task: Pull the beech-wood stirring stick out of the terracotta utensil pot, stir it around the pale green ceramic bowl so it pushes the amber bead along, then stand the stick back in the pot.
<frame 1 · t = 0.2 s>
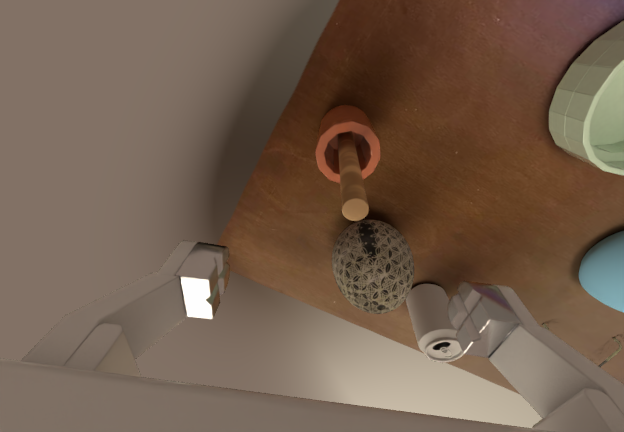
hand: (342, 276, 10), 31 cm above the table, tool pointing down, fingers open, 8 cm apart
decorative egg: (366, 233, 47), on the table
utensil pot: (344, 131, 38), on the table
can: (424, 293, 54), on the table
stirring stick: (344, 133, 37), point 1 cm above the table, touching utensil pot
sugar bowl: (621, 256, 46), on the table
bowl: (621, 90, 33), on the table
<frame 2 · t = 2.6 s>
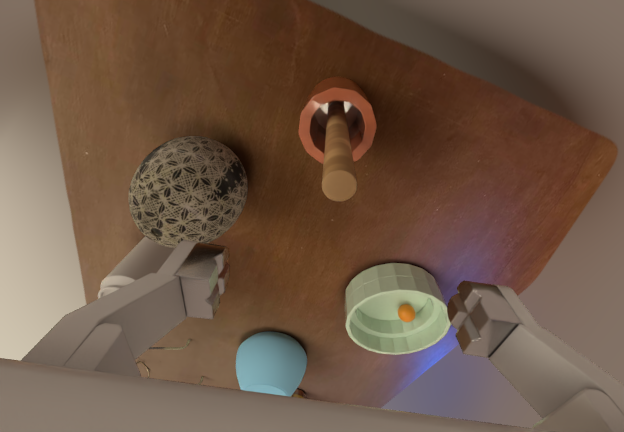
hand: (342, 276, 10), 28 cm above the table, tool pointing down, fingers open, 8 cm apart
decorative egg: (217, 166, 38), on the table
utensil pot: (336, 109, 33), on the table
bead: (406, 313, 48), point 2 cm above the table, touching bowl
can: (167, 247, 47), on the table
stirring stick: (336, 110, 32), point 1 cm above the table, touching utensil pot
sugar bowl: (274, 347, 61), on the table
bowl: (390, 293, 49), on the table
sauce bottle: (294, 391, 71), on the table
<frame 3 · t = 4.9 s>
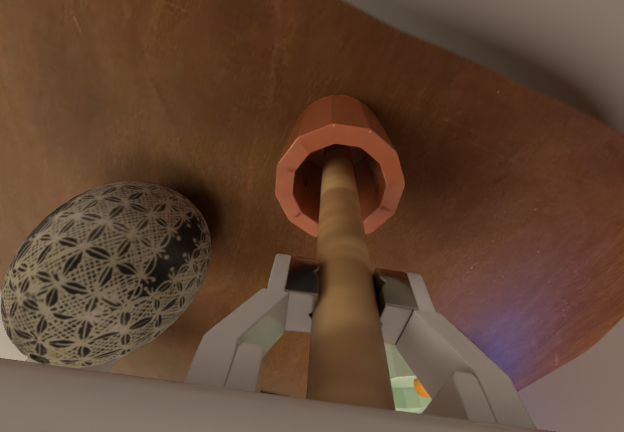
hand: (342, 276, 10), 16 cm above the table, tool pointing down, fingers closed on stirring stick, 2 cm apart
decorative egg: (174, 212, 28), on the table
utensil pot: (336, 140, 23), on the table
bead: (424, 384, 38), point 2 cm above the table, touching bowl
stirring stick: (336, 142, 22), point 1 cm above the table, touching gripper, utensil pot
bowl: (403, 359, 39), on the table
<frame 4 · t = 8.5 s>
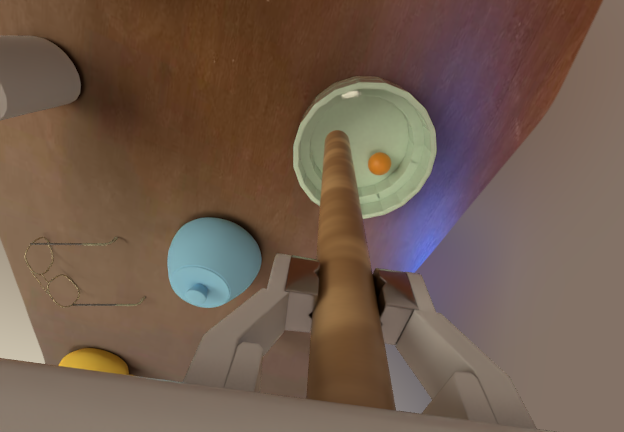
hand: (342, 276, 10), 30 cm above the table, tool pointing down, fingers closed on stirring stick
bead: (379, 163, 36), point 2 cm above the table, touching bowl
can: (56, 71, 35), on the table
stirring stick: (336, 142, 22), point 15 cm above the table, touching gripper
sugar bowl: (222, 246, 49), on the table
bowl: (358, 142, 37), on the table
eyeglasses: (97, 266, 54), on the table
teapot: (108, 365, 75), on the table
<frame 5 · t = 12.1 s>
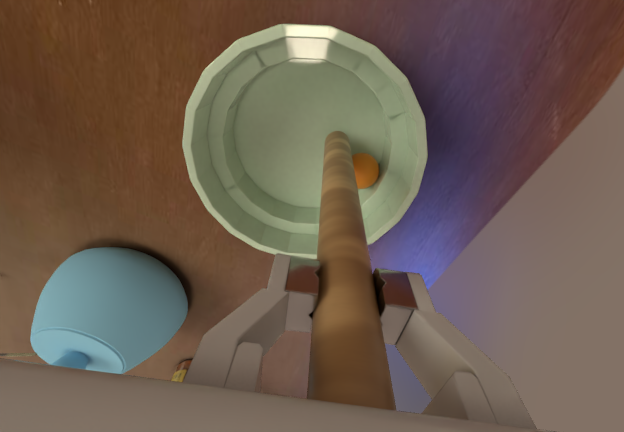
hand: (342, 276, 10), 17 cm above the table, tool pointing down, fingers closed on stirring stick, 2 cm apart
bead: (360, 171, 23), point 2 cm above the table, tilted 61°, touching bowl
stirring stick: (337, 143, 22), point 2 cm above the table, touching gripper
sugar bowl: (137, 283, 36), on the table
bowl: (309, 140, 24), on the table
sauce bottle: (199, 366, 46), on the table
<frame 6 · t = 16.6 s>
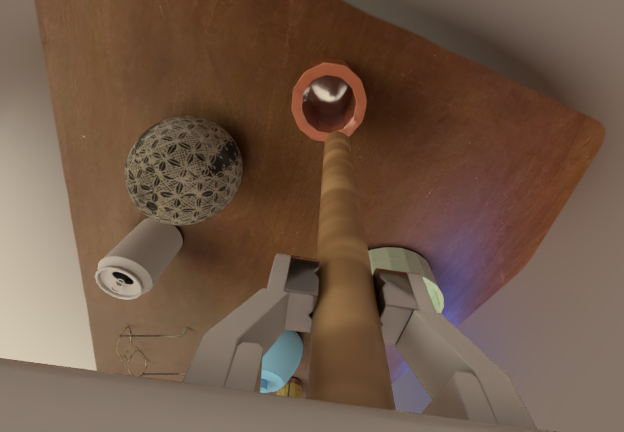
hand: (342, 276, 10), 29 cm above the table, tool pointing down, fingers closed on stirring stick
decorative egg: (212, 149, 39), on the table
utensil pot: (329, 90, 33), on the table
can: (163, 232, 47), on the table
stirring stick: (336, 143, 22), point 14 cm above the table, touching gripper
sugar bowl: (270, 335, 62), on the table
bowl: (384, 279, 50), on the table
eyeglasses: (165, 344, 66), on the table
sauce bottle: (291, 381, 72), on the table
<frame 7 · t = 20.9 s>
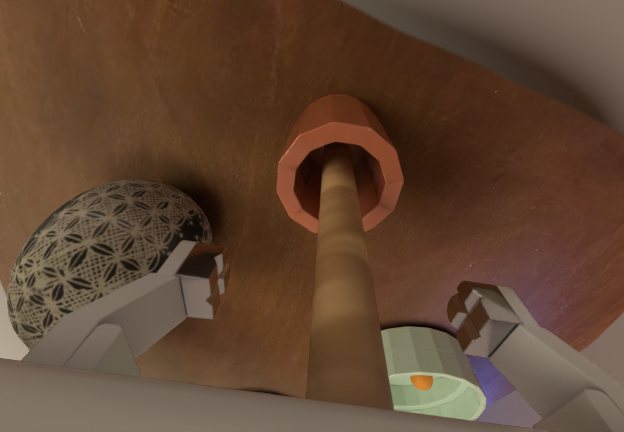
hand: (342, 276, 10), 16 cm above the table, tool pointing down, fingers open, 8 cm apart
decorative egg: (175, 210, 28), on the table
utensil pot: (336, 138, 23), on the table
bead: (421, 377, 38), point 2 cm above the table, tilted 35°, touching bowl
stirring stick: (336, 142, 23), point 1 cm above the table, touching utensil pot
bowl: (403, 356, 39), on the table
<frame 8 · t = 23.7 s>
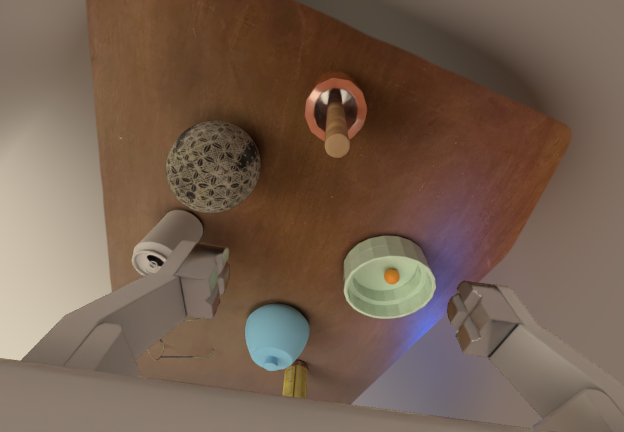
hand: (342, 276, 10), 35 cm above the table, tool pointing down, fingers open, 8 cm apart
decorative egg: (233, 148, 44), on the table
utensil pot: (335, 98, 39), on the table
bead: (391, 276, 54), point 2 cm above the table, tilted 65°, touching bowl
can: (186, 223, 53), on the table
stirring stick: (335, 100, 39), point 1 cm above the table, touching utensil pot
sugar bowl: (279, 319, 67), on the table
bowl: (383, 265, 55), on the table
sauce bottle: (297, 364, 78), on the table
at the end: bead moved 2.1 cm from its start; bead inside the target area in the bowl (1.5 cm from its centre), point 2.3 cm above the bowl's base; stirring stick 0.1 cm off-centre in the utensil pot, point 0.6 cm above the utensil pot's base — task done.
